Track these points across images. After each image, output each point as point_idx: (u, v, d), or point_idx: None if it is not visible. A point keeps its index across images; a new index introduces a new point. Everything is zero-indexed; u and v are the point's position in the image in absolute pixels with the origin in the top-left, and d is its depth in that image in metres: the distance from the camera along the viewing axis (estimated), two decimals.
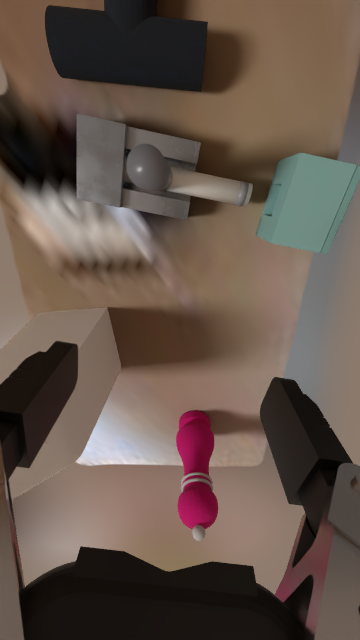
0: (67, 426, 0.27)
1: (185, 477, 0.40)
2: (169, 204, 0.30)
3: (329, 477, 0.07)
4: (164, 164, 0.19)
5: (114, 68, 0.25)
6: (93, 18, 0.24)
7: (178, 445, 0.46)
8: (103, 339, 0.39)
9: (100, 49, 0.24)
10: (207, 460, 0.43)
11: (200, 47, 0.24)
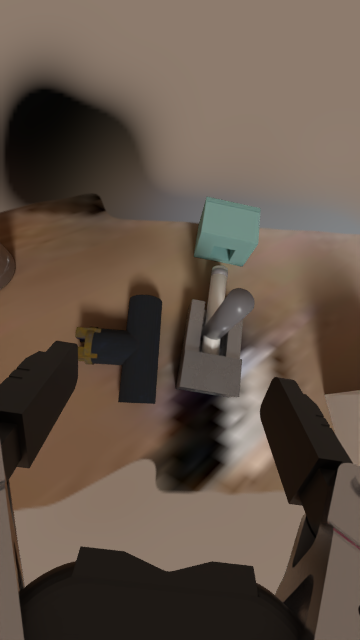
0: None
1: None
2: None
3: (329, 477, 0.07)
4: (237, 289, 0.27)
5: (154, 357, 0.35)
6: (129, 367, 0.34)
7: None
8: None
9: (146, 364, 0.34)
10: None
11: (146, 298, 0.37)
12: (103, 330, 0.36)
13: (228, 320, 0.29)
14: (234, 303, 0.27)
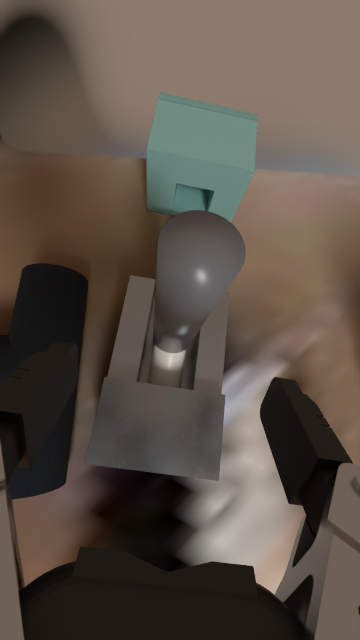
0: None
1: None
2: (211, 318, 0.20)
3: (329, 477, 0.07)
4: (194, 212, 0.09)
5: None
6: None
7: None
8: None
9: None
10: None
11: (45, 269, 0.19)
12: None
13: (175, 311, 0.11)
14: (181, 252, 0.08)
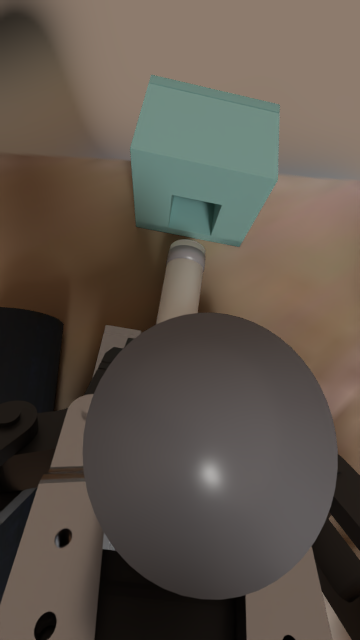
0: None
1: None
2: None
3: None
4: (194, 319, 0.03)
5: None
6: None
7: None
8: None
9: None
10: None
11: None
12: None
13: None
14: (155, 463, 0.03)
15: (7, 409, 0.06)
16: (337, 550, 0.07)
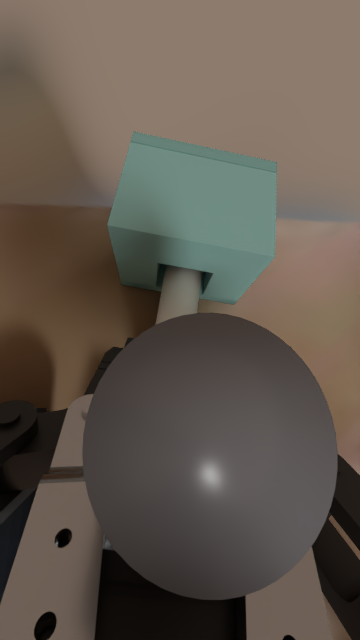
0: None
1: None
2: None
3: None
4: (193, 320, 0.03)
5: None
6: None
7: None
8: None
9: None
10: None
11: None
12: None
13: None
14: (155, 464, 0.03)
15: (7, 409, 0.06)
16: (337, 550, 0.07)
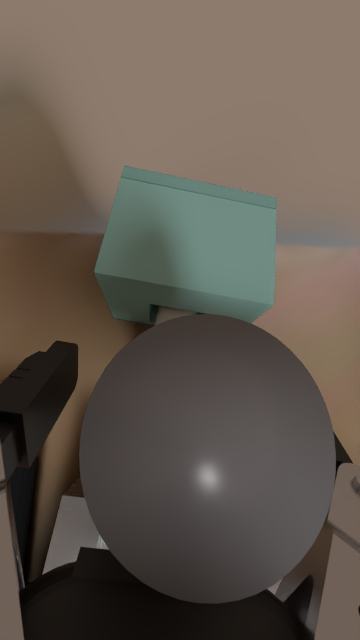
0: None
1: None
2: None
3: None
4: (191, 321, 0.03)
5: None
6: None
7: None
8: None
9: None
10: None
11: None
12: None
13: None
14: (152, 466, 0.03)
15: None
16: None
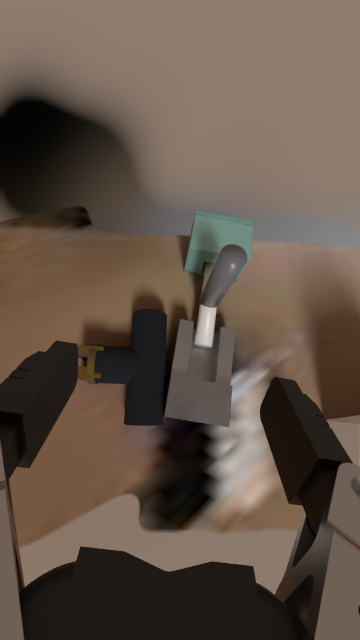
0: None
1: None
2: (225, 343, 0.35)
3: (329, 477, 0.07)
4: (230, 244, 0.28)
5: (160, 375, 0.34)
6: (135, 387, 0.32)
7: None
8: None
9: (152, 383, 0.32)
10: None
11: (150, 312, 0.35)
12: (106, 348, 0.34)
13: (221, 279, 0.29)
14: (227, 258, 0.27)
15: None
16: None
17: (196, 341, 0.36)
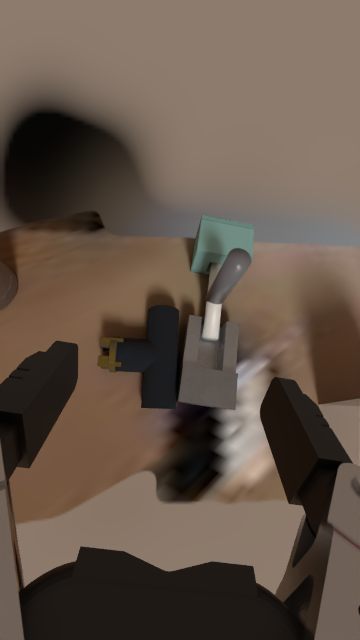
0: None
1: None
2: (230, 336, 0.39)
3: (329, 477, 0.07)
4: (236, 248, 0.31)
5: (174, 364, 0.37)
6: (152, 375, 0.36)
7: None
8: (357, 402, 0.38)
9: (167, 371, 0.36)
10: None
11: (165, 308, 0.39)
12: (125, 339, 0.38)
13: (228, 278, 0.33)
14: (234, 260, 0.31)
15: None
16: None
17: (204, 334, 0.40)
